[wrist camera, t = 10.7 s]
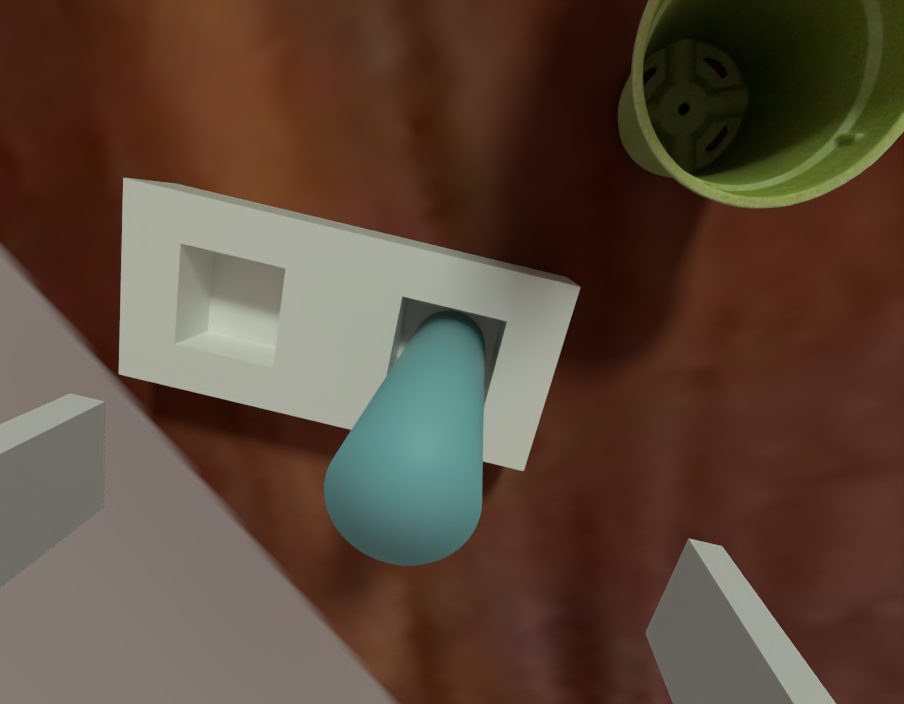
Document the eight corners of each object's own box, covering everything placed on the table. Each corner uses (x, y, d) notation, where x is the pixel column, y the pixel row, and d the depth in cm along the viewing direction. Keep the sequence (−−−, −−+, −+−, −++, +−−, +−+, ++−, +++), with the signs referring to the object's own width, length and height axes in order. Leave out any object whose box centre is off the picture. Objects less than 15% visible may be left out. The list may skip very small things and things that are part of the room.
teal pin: (422, 302, 26) (337, 407, 11) (492, 320, 26) (500, 447, 11) (407, 370, 27) (313, 544, 12) (475, 386, 27) (460, 581, 12)
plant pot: (686, 247, 25) (788, 262, 17) (543, 142, 24) (575, 101, 16) (820, 83, 22) (1020, 2, 14) (667, -43, 21) (784, -209, 13)
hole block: (177, 183, 26) (123, 177, 22) (566, 276, 26) (580, 287, 22) (168, 353, 28) (118, 374, 25) (518, 436, 28) (523, 471, 25)
